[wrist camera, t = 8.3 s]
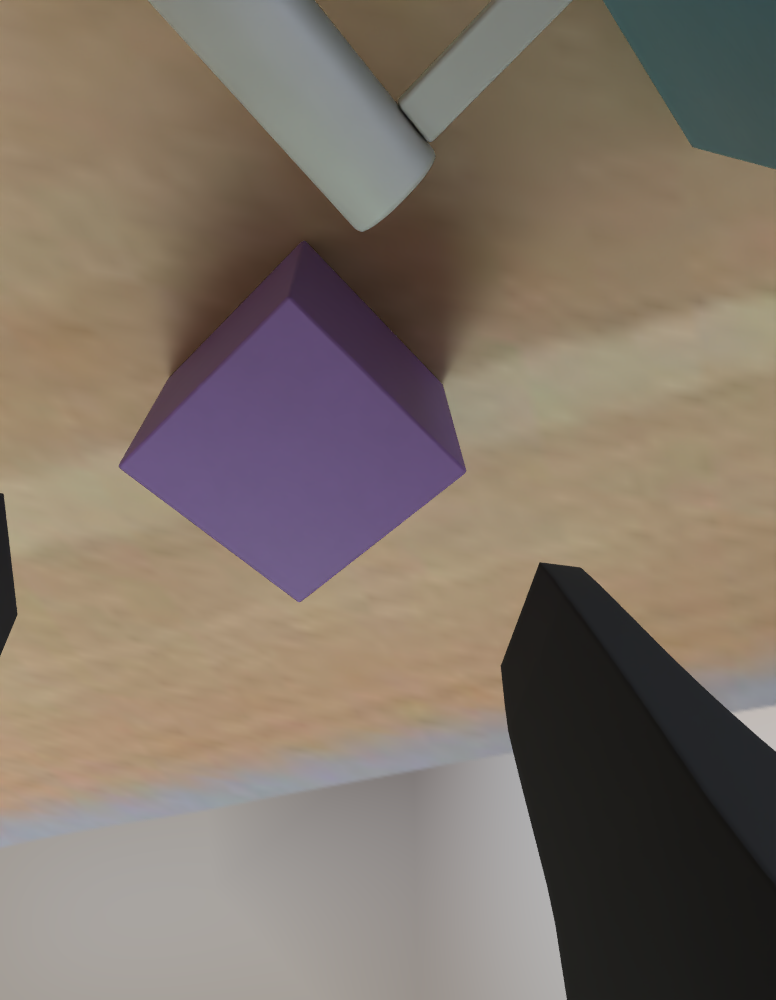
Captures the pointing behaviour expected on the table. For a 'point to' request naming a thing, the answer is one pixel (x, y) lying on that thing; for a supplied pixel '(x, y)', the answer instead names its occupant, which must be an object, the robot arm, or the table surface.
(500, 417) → the table surface
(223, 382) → the block
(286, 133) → the drawer
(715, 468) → the table surface
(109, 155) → the table surface
